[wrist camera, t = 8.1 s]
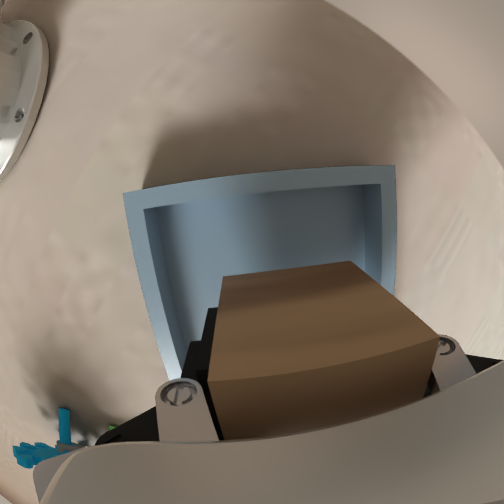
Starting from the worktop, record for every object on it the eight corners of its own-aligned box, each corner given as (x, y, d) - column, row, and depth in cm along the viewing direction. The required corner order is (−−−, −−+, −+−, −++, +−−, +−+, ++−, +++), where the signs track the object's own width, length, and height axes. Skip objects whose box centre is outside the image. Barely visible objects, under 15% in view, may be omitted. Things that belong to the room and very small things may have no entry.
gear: (44, 450, 17) (-8, 462, 8) (41, 398, 20) (-13, 391, 11) (143, 471, 19) (125, 504, 11) (140, 416, 22) (117, 425, 14)
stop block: (223, 276, 11) (207, 381, 5) (350, 260, 11) (439, 336, 5) (239, 378, 12) (242, 491, 6) (346, 361, 12) (397, 459, 6)
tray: (141, 189, 13) (122, 193, 11) (369, 165, 13) (394, 165, 11) (185, 380, 16) (180, 408, 14) (366, 354, 16) (381, 377, 14)
